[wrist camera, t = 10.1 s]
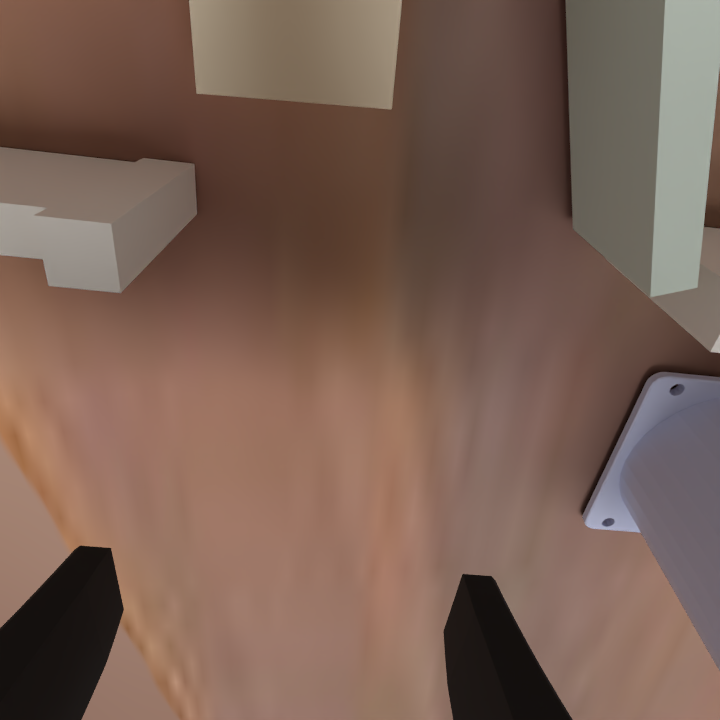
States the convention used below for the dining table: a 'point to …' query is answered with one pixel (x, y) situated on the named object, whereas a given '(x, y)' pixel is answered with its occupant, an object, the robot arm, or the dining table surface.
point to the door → (643, 132)
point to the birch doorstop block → (297, 50)
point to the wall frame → (171, 214)
